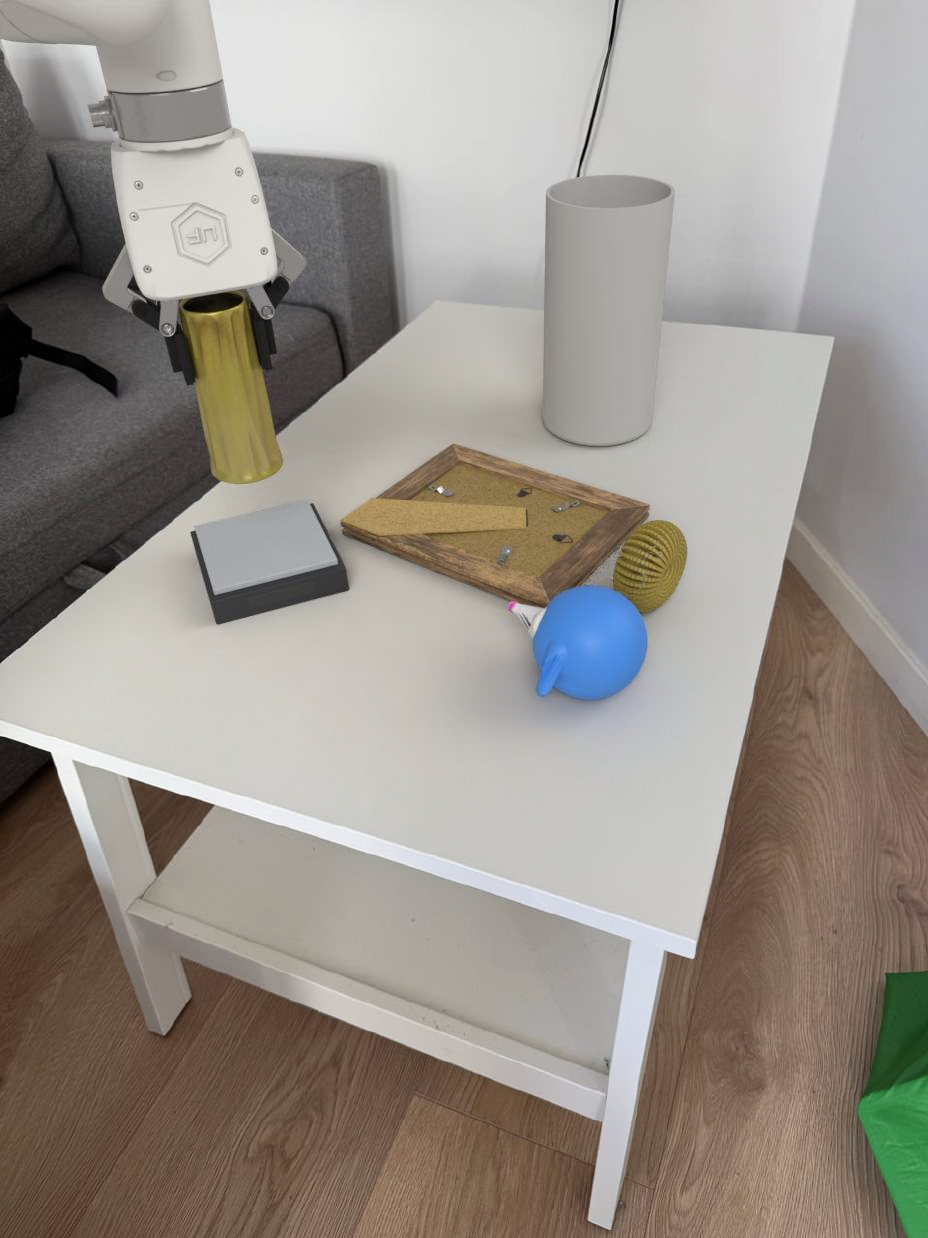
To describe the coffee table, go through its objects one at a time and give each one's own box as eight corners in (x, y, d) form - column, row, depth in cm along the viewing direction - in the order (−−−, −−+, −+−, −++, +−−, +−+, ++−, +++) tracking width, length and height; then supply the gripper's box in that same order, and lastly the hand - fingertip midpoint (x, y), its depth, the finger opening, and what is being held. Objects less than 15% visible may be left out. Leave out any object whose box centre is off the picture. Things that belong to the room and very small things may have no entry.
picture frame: (342, 535, 89) (549, 618, 78) (339, 520, 88) (549, 601, 77) (454, 455, 101) (648, 517, 90) (453, 440, 100) (650, 502, 88)
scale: (216, 625, 79) (208, 597, 77) (195, 553, 88) (188, 525, 86) (349, 590, 82) (345, 562, 80) (316, 523, 91) (312, 497, 89)
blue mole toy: (551, 608, 79) (553, 527, 74) (673, 663, 73) (684, 579, 68) (463, 684, 72) (458, 600, 67) (590, 752, 66) (595, 665, 61)
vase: (271, 443, 81) (241, 281, 72) (293, 473, 77) (263, 305, 68) (204, 460, 79) (163, 296, 70) (222, 492, 75) (181, 321, 66)
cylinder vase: (562, 392, 112) (568, 171, 96) (663, 407, 108) (687, 178, 92) (527, 439, 103) (528, 203, 87) (635, 457, 99) (657, 213, 83)
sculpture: (650, 573, 82) (658, 497, 77) (690, 590, 80) (701, 513, 75) (600, 618, 78) (606, 540, 73) (641, 636, 76) (650, 558, 71)
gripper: (39, 141, 56) (120, 412, 68) (310, 109, 61) (343, 368, 72) (36, 120, 62) (112, 373, 73) (285, 92, 66) (320, 335, 78)
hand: (226, 368), depth 73 cm, fingers closed on vase, 5 cm apart
